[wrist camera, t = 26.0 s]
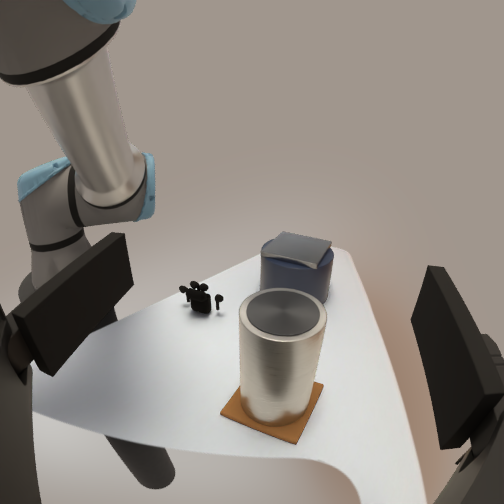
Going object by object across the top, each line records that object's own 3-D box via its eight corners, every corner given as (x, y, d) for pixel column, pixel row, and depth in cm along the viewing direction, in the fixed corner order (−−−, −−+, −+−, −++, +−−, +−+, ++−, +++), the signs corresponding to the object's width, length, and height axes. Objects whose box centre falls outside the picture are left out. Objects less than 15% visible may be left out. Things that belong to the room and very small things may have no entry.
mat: (220, 414, 29) (220, 412, 29) (256, 364, 36) (256, 362, 36) (295, 444, 26) (296, 442, 26) (323, 387, 32) (324, 384, 32)
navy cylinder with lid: (248, 299, 48) (248, 252, 45) (276, 268, 57) (278, 227, 53) (316, 319, 44) (323, 270, 40) (334, 282, 53) (341, 240, 49)
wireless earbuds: (225, 313, 45) (224, 284, 43) (218, 324, 43) (216, 294, 40) (183, 303, 47) (180, 274, 45) (175, 312, 45) (171, 283, 43)
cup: (228, 410, 29) (221, 322, 24) (259, 367, 35) (262, 279, 29) (293, 436, 26) (311, 351, 21) (317, 386, 32) (336, 299, 27)
